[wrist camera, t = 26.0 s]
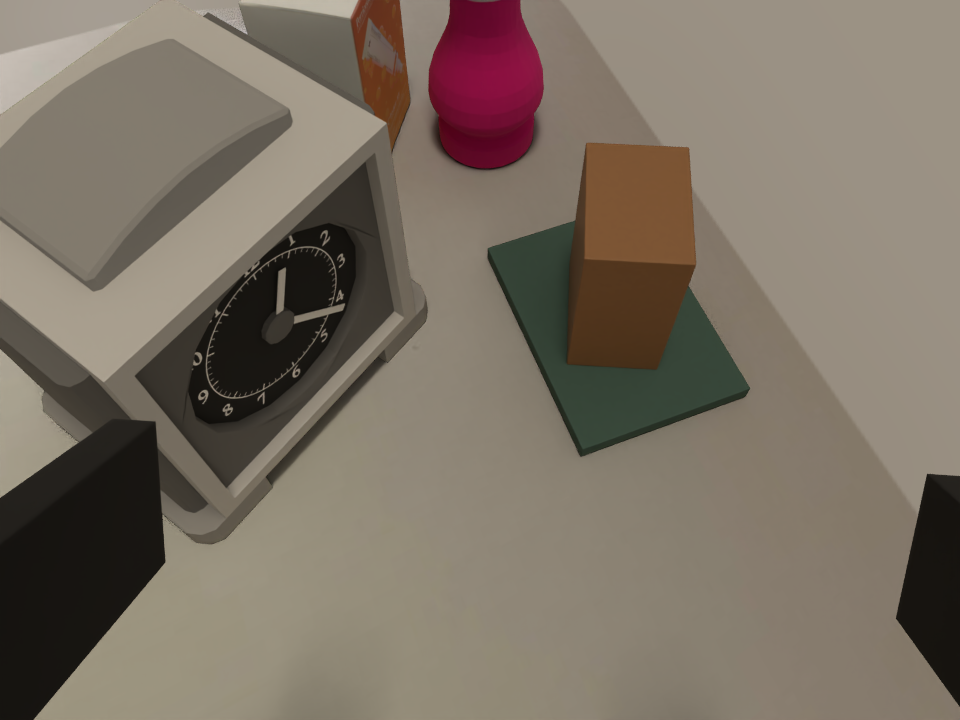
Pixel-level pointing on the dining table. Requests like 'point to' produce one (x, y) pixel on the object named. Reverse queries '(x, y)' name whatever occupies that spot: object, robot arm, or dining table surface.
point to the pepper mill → (486, 83)
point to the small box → (341, 47)
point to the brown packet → (629, 254)
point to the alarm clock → (199, 252)
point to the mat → (610, 390)
